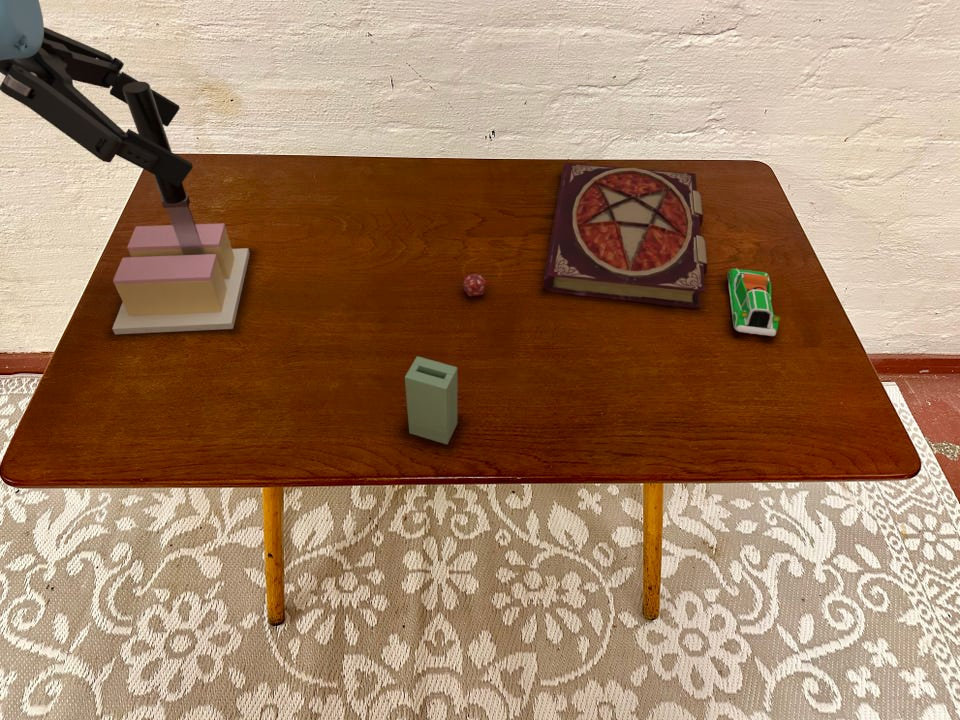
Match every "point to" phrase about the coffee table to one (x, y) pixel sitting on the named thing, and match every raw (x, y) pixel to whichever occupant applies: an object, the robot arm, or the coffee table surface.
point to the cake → (179, 282)
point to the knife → (171, 194)
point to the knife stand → (432, 399)
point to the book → (628, 236)
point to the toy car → (751, 302)
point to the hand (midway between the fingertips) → (179, 144)
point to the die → (474, 284)
